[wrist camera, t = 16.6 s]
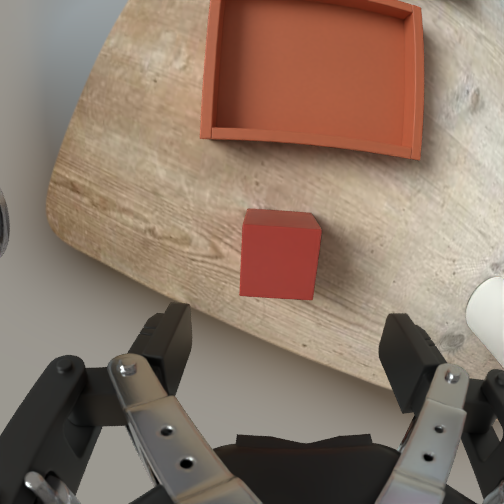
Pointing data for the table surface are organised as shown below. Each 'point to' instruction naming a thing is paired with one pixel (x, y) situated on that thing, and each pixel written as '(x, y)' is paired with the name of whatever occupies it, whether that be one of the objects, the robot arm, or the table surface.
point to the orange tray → (316, 74)
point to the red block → (279, 254)
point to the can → (488, 316)
